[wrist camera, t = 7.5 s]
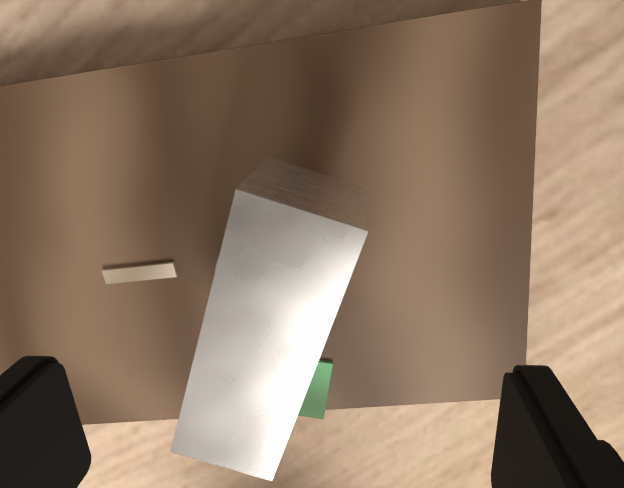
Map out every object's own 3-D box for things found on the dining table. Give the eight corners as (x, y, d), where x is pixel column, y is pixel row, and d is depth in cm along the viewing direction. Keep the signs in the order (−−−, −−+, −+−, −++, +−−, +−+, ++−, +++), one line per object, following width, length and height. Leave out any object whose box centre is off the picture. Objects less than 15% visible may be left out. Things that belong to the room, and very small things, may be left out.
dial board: (522, 5, 14) (543, -3, 13) (511, 381, 20) (525, 407, 18) (-153, 114, 17) (-202, 118, 16) (-2, 414, 23) (-27, 439, 21)
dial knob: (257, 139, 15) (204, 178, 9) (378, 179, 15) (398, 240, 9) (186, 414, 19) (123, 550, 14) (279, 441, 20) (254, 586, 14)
